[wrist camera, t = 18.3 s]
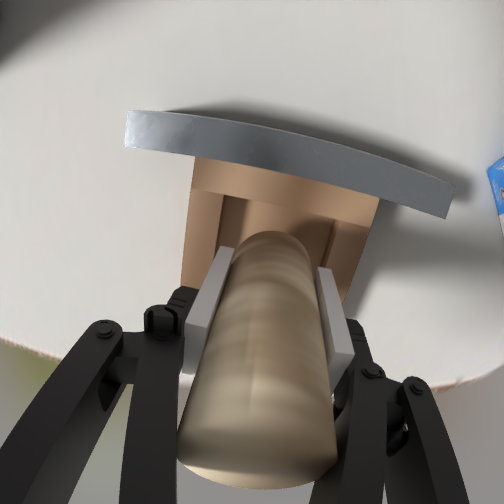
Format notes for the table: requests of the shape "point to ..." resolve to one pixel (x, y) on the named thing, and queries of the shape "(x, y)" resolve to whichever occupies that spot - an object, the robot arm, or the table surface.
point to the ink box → (498, 187)
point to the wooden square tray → (273, 217)
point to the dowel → (262, 376)
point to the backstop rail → (288, 156)
